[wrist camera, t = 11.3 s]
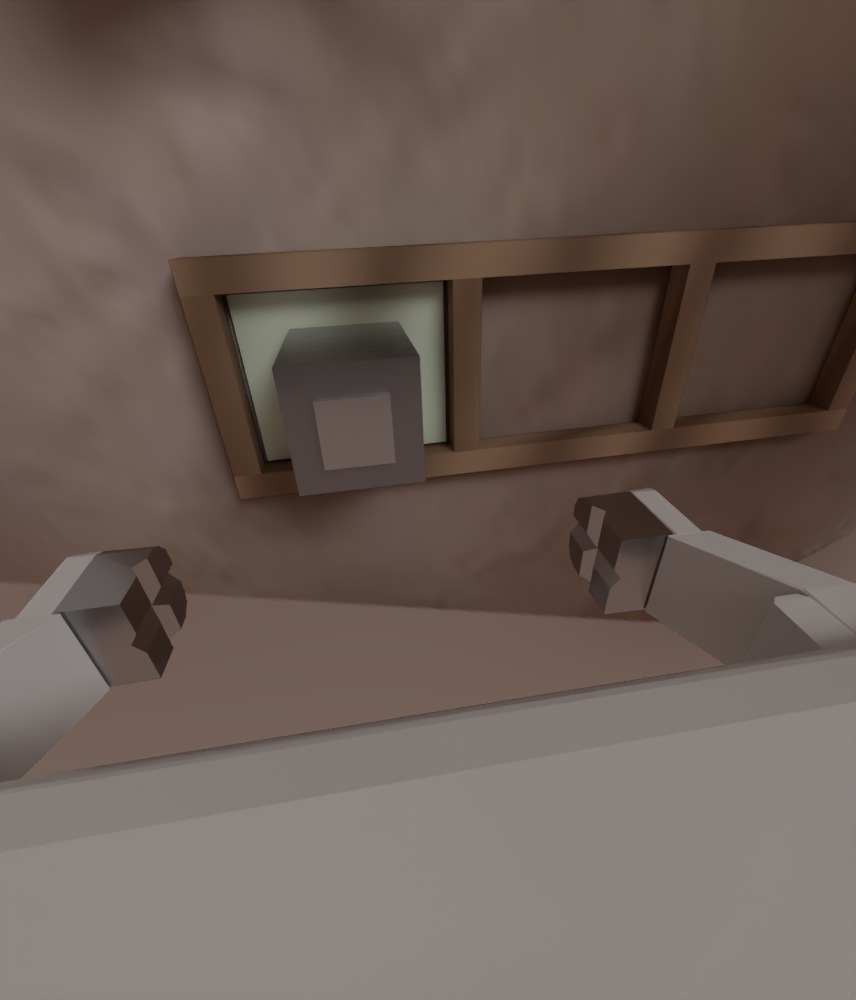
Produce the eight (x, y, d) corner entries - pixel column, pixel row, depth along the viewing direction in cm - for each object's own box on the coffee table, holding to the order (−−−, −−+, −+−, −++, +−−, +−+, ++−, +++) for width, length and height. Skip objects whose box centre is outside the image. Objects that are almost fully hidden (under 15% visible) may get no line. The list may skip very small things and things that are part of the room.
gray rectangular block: (398, 321, 19) (421, 358, 14) (405, 421, 22) (427, 485, 16) (289, 328, 19) (270, 370, 13) (308, 430, 21) (299, 500, 16)
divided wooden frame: (907, 218, 21) (936, 218, 20) (818, 421, 26) (837, 429, 25) (178, 257, 17) (168, 259, 16) (245, 486, 22) (240, 499, 21)
